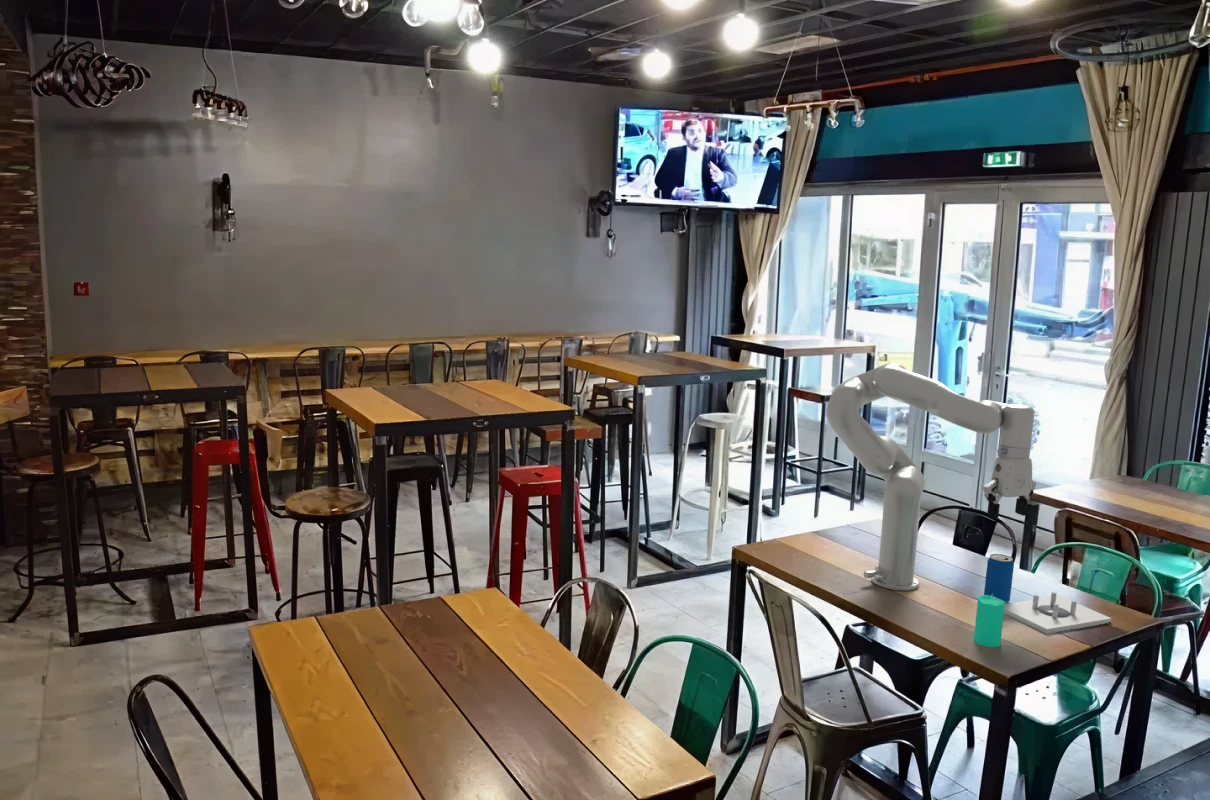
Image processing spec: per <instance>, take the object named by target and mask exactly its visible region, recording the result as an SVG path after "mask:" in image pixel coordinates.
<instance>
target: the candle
mask: <svg viewBox="0 0 1210 800" xmlns="http://www.w3.org/2000/svg"><path fill="white" fill-rule="evenodd" d="M1005 604H1006V603H1005V602H1004V601H1003V600H1001V599H998V598H996V597H993V596H990V595H984V594H983V595H982V594H981V595H979V596H978V597H977V603H976V614H975V622H974V623H975V625H974V633H973V641H974V642H975V644H976V645H981V646H983V647H988V648H998V647H999V646H1001V643H1002V635H1003V634H1002V633H1003V626H1004V625H1003V623H1004V617H1005V616H1004V615H1005V613H1004V608H1005Z"/></svg>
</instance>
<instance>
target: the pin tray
mask: <svg viewBox="0 0 1210 800" xmlns="http://www.w3.org/2000/svg"><path fill="white" fill-rule="evenodd" d="M1039 597H1040V596H1039V595H1038V594H1034V595H1033V597H1032V598H1033V599H1030V600H1029V599H1028V600H1023V601H1015V602H1007V603H1005V608H1004V615H1007V616H1009V617H1011V618H1013V619H1014V620H1017V621H1019V622H1022V623H1024V624H1025V625H1027V626H1030V627H1032V628H1034V629H1035V630H1038V631H1040V632H1042V633H1044V634H1047V635H1048V634H1053V633H1059V631H1060V632H1064V631H1065V630H1066V631H1070V630H1071V629H1072V630H1077V629H1083V628H1087V627H1094V626H1100V624H1101V625H1105V623H1107V624H1109V623H1108V622H1111V623H1112V617H1109V616H1107V615H1105V614H1102V613H1100V612H1098V611H1096V610H1093V609H1091V608H1089V607H1086V606H1084V605H1082V604H1079V603H1078V602H1077V601H1076V600H1070V599H1068V598H1066V597H1063V596H1061V595H1057V592H1054V591H1052V592H1051V595H1050V597H1049V596H1048V597H1042V598H1039ZM1072 630H1071V631H1072ZM1066 631H1065V632H1066Z"/></svg>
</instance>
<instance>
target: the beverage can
mask: <svg viewBox="0 0 1210 800" xmlns="http://www.w3.org/2000/svg"><path fill="white" fill-rule="evenodd" d="M1013 560H1014V559H1013V557H1011V556H1009V555H1006V554H1001V553H992V554H990V555H989V557H988V559H987V562H986V573H985V581H984V590H983V595H990V596H993V597H996V598H998V599H1001V600H1003V601H1004V602H1005V604H1008V603H1010V600H1011V595H1012V586H1013V585H1012V584H1013V578H1014V577H1013V575H1014V567H1015V563H1014V561H1013Z"/></svg>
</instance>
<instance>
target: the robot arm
mask: <svg viewBox="0 0 1210 800" xmlns="http://www.w3.org/2000/svg"><path fill="white" fill-rule="evenodd" d="M882 398H889V399H892V400H895V401H898V402H900V403H903V404H906V405H908V406H911V407H915V408H917V409H920V410H923V411H924V412H925V411H926V412H927V413H929V414H931V415H933V416H935V417H938V418H941V419H942V420H945V421H947V422H949V423H951V424H954V425H956V426H958V427H960V428H964V429H967V430H969V431H973V432H974V433H975V432H976V433H979V434H984V435H985V434H986V435H987V434H991V433H994V432H995V431H997V429H1000V432H999V442H998V443H999V444H998V448H997V450H996V452H997V456H996V458H995V462H994V465H993V468H992V472H991V473H992V475H991V480H990V481H989V482H988V483H985V485H984V486H983V487H982V490H983V492H984V497H985V498H986V501H987V502H988V503H987V505H988V506H987V517H990V518H991V519H995V520H997V519H999V516H1000V505H1001V504H1000V503H999V502H1000V501H1001V499H1002V498H1003V497H1004V498H1014V497H1015V498H1016V497H1017V498H1016V500H1015V501H1016V502H1015V510H1014V512H1015V514H1018V515H1020V516H1023V517H1025V516H1027V510H1028V503H1029V501H1030V499H1031V496H1032V495H1033V494H1034V491H1035V489H1036V486H1037V483H1036V482H1035V481H1033V462H1032V458H1031V457H1030V454H1031V447H1032V446H1031V445H1032V439H1033V437H1032V436H1033V430H1034V429H1033V428H1034V421H1035V420H1034V419H1035V410H1034V408H1033V407H1032V406H1030V405H1025V404H1019V403H1018V404H1017V403H1015V404H1014V403H1011V404H1008V403H1004V402H999V401H994V400H990V399H982V400H980V401H976V400H973V399H970V398H968V397H965V396H963V395H961V394H958V393H956V392H955V391H953V390H951V389H950V388H949V387H948V386H946V385H945V384H944V383H942V381H938V380H936V379H933V378H930V377H926V376H924V375H922V374H919V373H916V372H912V371H910V370H907V368H906V367H905V366H904V365H902V364H900V363H898V362H888V363H884V364H883V365H880V366H878V367H876V368H873V369H871V370H868V371H865V372H863V373H861V374H858V375H856V376H851V377H850V378H847V379H846V380H844V381H843V382H841V383H840V384H839V385H838V386H836V387H835V389H834V390H833V391H832V393H831V395H830V398H829V400H828V403H827V408H826V410H827V417H828V422H829V423H830V427H831V428H832V429H833V431H834V432H835V434H836V435H837V436H838V437H839V439H840V440H841V441H842V442H843V443H844V444H845V446H846V447H847V448H848V449H849V451H850V452H851V453H852V455H853V456H854V457H855V458H856V460H857V461H859V463H860V465H862V467H863V468H864V469H865V470H866V471H867V472H868V473H869V474H872V475H874V476H880V477H881V478H882V479H883V481H884V482H885V486H884V488H883V489H884V490H883V499H882V500H883V505H882V507H883V508H882V520H881V521H882V522H881V533H880V543H879V545H880V546H879V555H878V556H879V557H878V565H877V564H876V565H875V567H874V569H872V570H865V571H864V572H863V577H864V578H865V579H871V582H873V584H874V585H876V584H877V585H876V586H878V587H882V588H884V589H888V590H892V591H894V590H895V591H903V592H904V591H905V592H906V591H913V590H915V589H917V588H919V586H920V581H919V580H918V579H917V577H914V575H915V565H916V556H917V544H918V537H919V536H918V533H919V522H920V512H921V511H920V509H921V501H922V494H923V492H924V488H925V477H924V474H923V473H922V471H921V470H920V469H919V467H918V466H917V465H916V463H914V461H913V460H912V459H911V458H910V457H909V455H907V453H906V452H905V451H904V450H903V449H902V448H901V446H900V445H899V444H898V443H897V442H896V441H895V440H893V438H890V437H889V436H886V435H879V434H878V433H877V432H876V430H874V428H873V427H872V426H871V424H870V423H869V422H867V420H866V419H864V417H863V416H862V415H861V413H860V409H861V408H862V407H863V406H864V405H867V404H870V403H872V402H875V401H877V400H880V399H882Z"/></svg>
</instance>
